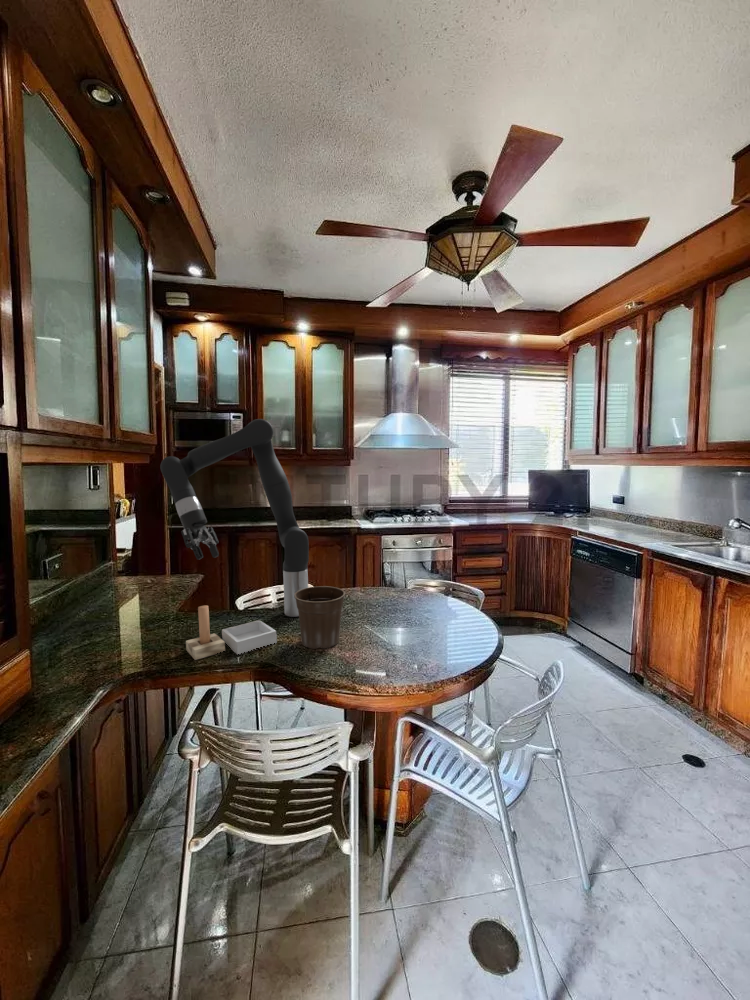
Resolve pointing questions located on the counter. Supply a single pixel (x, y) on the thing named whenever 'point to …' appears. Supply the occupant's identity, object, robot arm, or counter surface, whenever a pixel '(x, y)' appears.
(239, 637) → the tray
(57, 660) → the counter surface
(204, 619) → the dowel
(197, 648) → the dowel holder
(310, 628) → the plant pot
